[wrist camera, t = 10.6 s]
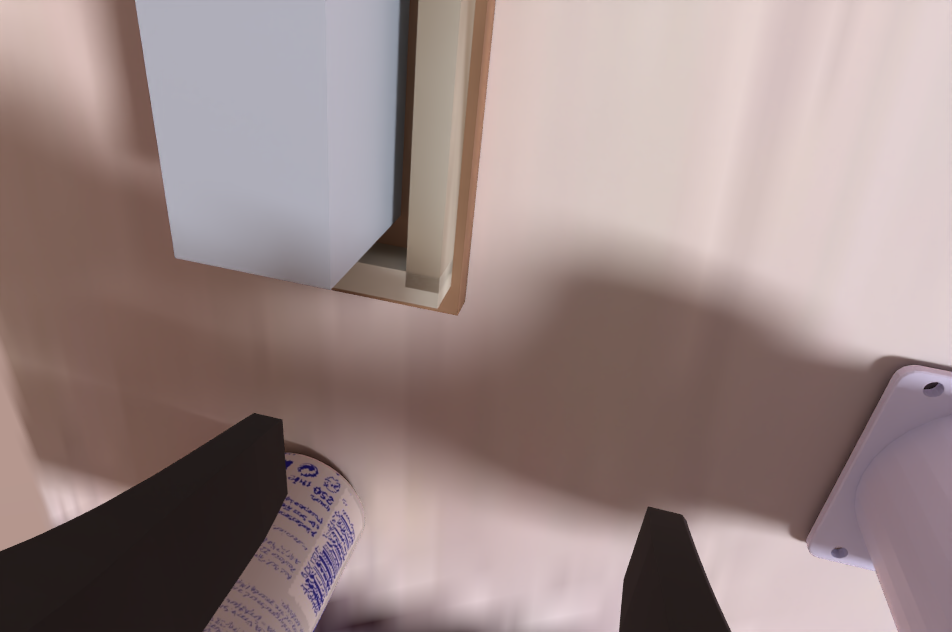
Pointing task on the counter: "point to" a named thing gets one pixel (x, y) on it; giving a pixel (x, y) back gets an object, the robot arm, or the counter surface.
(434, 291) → the framed wooden panel
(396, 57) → the grey box
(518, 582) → the counter surface
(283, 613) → the beverage can
